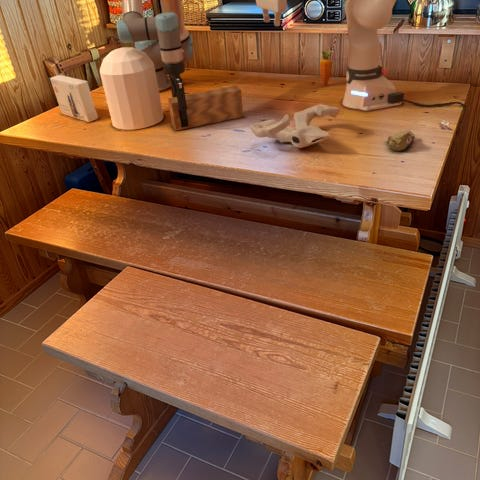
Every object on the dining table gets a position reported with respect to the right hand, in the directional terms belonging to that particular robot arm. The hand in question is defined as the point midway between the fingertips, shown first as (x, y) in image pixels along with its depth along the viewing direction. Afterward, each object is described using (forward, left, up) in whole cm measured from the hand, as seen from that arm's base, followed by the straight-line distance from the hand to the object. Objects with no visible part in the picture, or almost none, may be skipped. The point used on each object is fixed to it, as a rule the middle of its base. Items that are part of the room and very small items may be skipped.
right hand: (271, 23), depth 164 cm
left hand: (+36, +5, -31) cm, 48 cm away
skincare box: (+82, -20, -32) cm, 90 cm away
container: (+55, -8, -32) cm, 64 cm away
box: (+27, +2, -32) cm, 42 cm away
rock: (-35, +43, -32) cm, 64 cm away
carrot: (-26, -27, -32) cm, 49 cm away
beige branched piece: (-4, +34, -32) cm, 47 cm away
